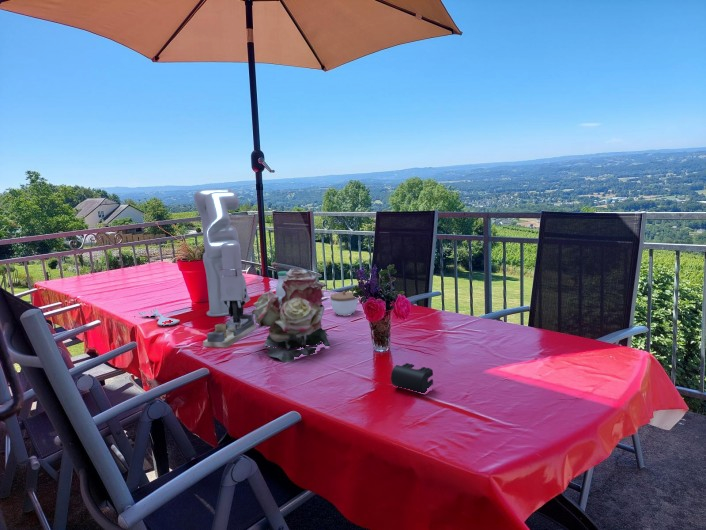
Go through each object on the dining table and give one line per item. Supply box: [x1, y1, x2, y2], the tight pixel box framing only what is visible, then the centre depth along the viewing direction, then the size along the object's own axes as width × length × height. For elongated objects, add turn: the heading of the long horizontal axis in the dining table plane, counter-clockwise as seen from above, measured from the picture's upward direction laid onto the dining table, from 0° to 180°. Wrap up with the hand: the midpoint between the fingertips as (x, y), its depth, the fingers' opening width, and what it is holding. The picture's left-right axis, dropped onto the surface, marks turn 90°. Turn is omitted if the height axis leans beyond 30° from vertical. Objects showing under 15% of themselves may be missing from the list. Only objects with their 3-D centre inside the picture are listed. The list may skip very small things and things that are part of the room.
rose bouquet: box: [250, 267, 331, 363], centre depth 164 cm, size 26×29×30 cm
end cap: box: [390, 362, 434, 393], centre depth 128 cm, size 10×7×7 cm
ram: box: [225, 301, 248, 331], centre depth 188 cm, size 7×8×12 cm
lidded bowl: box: [330, 290, 359, 315], centre depth 210 cm, size 13×13×11 cm
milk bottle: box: [275, 270, 288, 297], centre depth 217 cm, size 8×8×20 cm
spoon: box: [138, 307, 180, 327], centre depth 214 cm, size 9×32×4 cm, turn 43°
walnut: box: [214, 323, 227, 338], centre depth 177 cm, size 4×4×5 cm
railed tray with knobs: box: [202, 313, 257, 348], centre depth 184 cm, size 10×25×6 cm, turn 166°
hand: (236, 315), depth 189 cm, fingers closed on ram, 3 cm apart
